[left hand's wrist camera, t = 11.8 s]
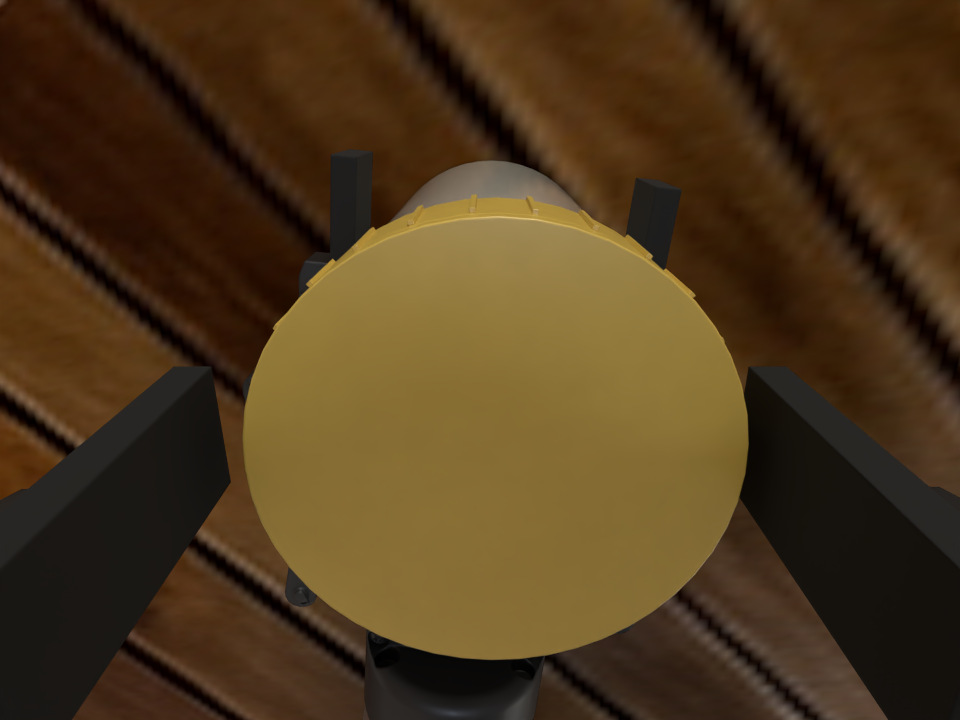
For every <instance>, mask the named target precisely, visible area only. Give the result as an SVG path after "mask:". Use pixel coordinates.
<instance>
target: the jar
mask: <svg viewBox="0 0 960 720" xmlns="http://www.w3.org/2000/svg"><path fill="white" fill-rule="evenodd" d="M471 195H477V199H478V198H495V197H499V198H511V199H524V200H526V198H527V196H531V197H533V199H534V201H536V202H541V203H546V204H550V205H555V206H559V207H562V208H565V209H568V210H570V211H573V212H576V213H579V211H580V210H582V209H581V208H580V207H579V206H578V205H577V204H576V202H575V201H574V200H573V199H572V198H571V197H570V196H569V195H568V194H567V193H566V192H565V191H564V190H563V189H561V188H560V187H559V186H558V185H557V184H556V183H554V182H553V181H552V180H550V179H549V178H548V177H546V176H544V175H542V174H541V173H539V172H537V171H535V170H533V169H530V168H527V167H525V166H522V165H519V164H514V163H509V162H502V161H479V162H473V163H468V164H463V165H460V166H457V167H455V168H452V169H449V170H447V171H445V172H443V173H441V174H439V175H437V176H436V177H435V178H433V179H432V180H430V181H429V182H427V183H426V184H425V185H424V186H423V187H422V188H420V189H419V190H418V191H417V192H416V193H415V194H414V195H413V196H412V198H411V199H410V200H409V201H408V202H407V203H406V204H405V205H404V207H403V208H402V209H401V210H400V211H399V212H398V213H397V214H396V215H395V217H394V218H393V219H392V220H391V221H390V222H389V223H391V222H393V221H395V220H397V219H399V218H401V217H403V216H405V215H407V214H410V213H413V212H414V211H415V210H416V208H417V207H418V206H421V205H423V207H424V209H425V208H428V207H431V206H434V205H438V204H443V203H448V202H454V201H459V200H464V199H471ZM389 223H388V224H389Z"/></svg>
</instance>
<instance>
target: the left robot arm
mask: <svg viewBox="0 0 960 720" xmlns="http://www.w3.org/2000/svg"><path fill="white" fill-rule="evenodd" d="M744 399H745V405H746V410H747V416H748V441H749V445H748V454H747V463H746V472H745V477H744V481H743V484H742V488H741V492H740V496H739V497H740V499H741V500H742V502H743V503H744V505H745V506H746V508H747V509H748V511H749V512H750V514H751V515H752V517H753V518H754V520H755V521H756V523H757V524H758V526H759V527H760V529H761V530H762V532H763V533H764V535H765V536H766V538H767V539H768V541H769V542H770V544H771V545H772V547H773V548H774V550H775V551H776V553H777V554H778V556H779V557H780V559H781V560H782V562H783V563H784V565H785V566H786V568H787V569H788V571H789V572H790V574H791V575H792V577H793V578H794V580H795V581H796V583H797V584H798V586H799V587H800V589H801V590H802V591H803V593H804V594H805V596H806V597H807V599H808V600H809V602H810V603H811V605H812V606H813V608H814V609H815V611H816V612H817V614H818V615H819V617H820V618H821V620H822V621H823V623H824V624H825V626H826V627H827V629H828V630H829V632H830V633H831V635H832V636H833V638H834V639H835V641H836V642H837V644H838V645H839V647H840V648H841V650H842V651H843V653H844V654H845V656H846V657H847V659H848V660H849V662H850V663H851V665H852V666H853V668H854V669H855V671H856V672H857V674H858V675H859V677H860V678H861V680H862V681H863V683H864V684H865V686H866V687H867V689H868V690H869V692H870V693H871V695H872V696H873V698H874V699H875V701H876V702H877V704H878V705H879V707H880V708H881V710H882V711H883V713H884V714H885V716H886V717H887V719H888V720H960V497H958V496H956V495H954V494H952V493H950V492H948V491H946V490H944V489H942V488H940V487H929V486H928V485H927V484H925V483H924V482H923V481H922V480H921V479H919V478H918V477H917V476H916V475H915V474H913V473H912V472H911V471H910V470H909V469H907V468H906V467H905V466H904V465H903V464H901V463H900V462H899V461H898V460H897V459H896V458H894V457H893V456H892V455H891V454H890V453H888V452H887V451H886V450H885V449H884V448H882V447H881V446H880V445H879V444H878V443H876V442H875V441H874V440H873V439H872V438H871V437H869V436H868V435H867V434H866V433H865V432H863V431H862V430H861V429H860V428H859V427H857V426H856V425H855V424H854V423H853V422H851V421H850V420H849V419H848V418H847V417H846V416H844V415H843V414H842V413H841V412H840V411H838V410H837V409H836V408H835V407H834V406H832V405H831V404H830V403H829V402H828V401H826V400H825V399H824V398H823V397H822V396H821V395H819V394H818V393H817V392H816V391H815V390H813V389H812V388H811V387H810V386H809V385H807V384H806V383H805V382H804V381H803V380H801V379H800V378H799V377H798V376H797V375H796V374H794V373H793V372H792V371H791V370H790V369H788V368H787V367H749V369H748V375H747V381H746V386H745V392H744ZM230 482H231V481H230V475H229V469H228V463H227V457H226V451H225V445H224V439H223V433H222V428H221V422H220V416H219V410H218V404H217V398H216V392H215V386H214V381H213V375H212V369H211V367H173V368H172V369H170V370H169V371H168V372H167V373H166V374H164V375H163V376H162V377H161V378H160V379H159V380H157V381H156V382H155V383H154V384H153V385H151V386H150V387H149V388H148V389H147V390H145V391H144V392H143V393H142V394H141V395H139V396H138V397H137V398H136V399H135V400H134V401H132V402H131V403H130V404H129V405H128V406H126V407H125V408H124V409H123V410H122V411H120V412H119V413H118V414H117V415H116V416H114V417H113V418H112V419H111V420H110V421H109V422H107V423H106V424H105V425H104V426H103V427H101V428H100V429H99V430H98V431H97V432H95V433H94V434H93V435H92V436H91V437H89V438H88V439H87V440H86V441H85V442H84V443H82V444H81V445H80V446H79V447H78V448H76V449H75V450H74V451H73V452H72V453H70V454H69V455H68V456H67V457H66V458H64V459H63V460H62V461H61V462H60V463H59V464H57V465H56V466H55V467H54V468H53V469H51V470H50V471H49V472H48V473H47V474H45V475H44V476H43V477H42V478H41V479H39V480H38V481H37V482H36V483H35V484H33V485H32V486H31V487H30V488H29V489H21V490H19V491H17V492H15V493H13V494H11V495H9V496H7V497H6V498H4V499H2V500H0V720H72V719H73V717H74V716H75V714H76V713H77V711H78V710H79V708H80V707H81V705H82V704H83V702H84V701H85V699H86V698H87V696H88V695H89V693H90V692H91V690H92V689H93V687H94V686H95V684H96V683H97V681H98V680H99V678H100V677H101V675H102V674H103V672H104V671H105V669H106V668H107V666H108V665H109V663H110V662H111V660H112V659H113V657H114V656H115V654H116V653H117V651H118V650H119V648H120V647H121V645H122V644H123V642H124V641H125V639H126V638H127V636H128V635H129V633H130V632H131V630H132V629H133V627H134V626H135V624H136V623H137V621H138V620H139V618H140V617H141V615H142V614H143V612H144V611H145V609H146V608H147V606H148V605H149V603H150V602H151V600H152V599H153V597H154V596H155V594H156V593H157V591H158V590H159V589H160V587H161V586H162V584H163V583H164V581H165V580H166V578H167V577H168V575H169V574H170V572H171V571H172V569H173V568H174V566H175V565H176V563H177V562H178V560H179V559H180V557H181V556H182V554H183V553H184V551H185V550H186V548H187V547H188V545H189V544H190V542H191V541H192V539H193V538H194V536H195V535H196V533H197V532H198V530H199V529H200V527H201V526H202V524H203V523H204V521H205V520H206V518H207V517H208V515H209V514H210V512H211V511H212V509H213V508H214V506H215V505H216V503H217V502H218V500H219V499H220V497H221V496H222V494H223V493H224V491H225V490H226V488H227V487H228V485H229V484H230Z"/></svg>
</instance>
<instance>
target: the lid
mask: <svg viewBox="0 0 960 720" xmlns="http://www.w3.org/2000/svg"><path fill="white" fill-rule="evenodd" d="M652 257H653V256H652V255H651V254H650V253H649V252H648V251H647V250H646V249H644V248H643V247H642V246H641V245H640V244H639V243H637V242H636V241H635V240H634V239H633V238H632V237H630V236H629V235H627V236H626V237H625V238H624V237H623V236H621V235H620V234H618V233H617V232H616V231H614V230H612V229H610V228H608V227H606V226H604V225H603V224H601V223H599V222H597V221H595V220H593V219H592V218H591V217H590V216H589V215H588V214H587V213H586V212H585V211H583V210H580V211H579V213H576V212H573V211H570V210H568V209H565V208H562V207H559V206H555V205H550V204H546V203H541V202H536V201H534V199H533V197H531V196H527V198H526V200H524V199H511V198H499V197H495V198H478V199H477V195H471V199H464V200H459V201H454V202H448V203H443V204H438V205H434V206H431V207H428V208H425V209H424V207H423V205H421V206H418V207H417V208H416V210H415V211H414V212H413V213H410V214H407V215H405V216H403V217H401V218H399V219H397V220H395V221H393V222H391V223H389V224H387V225H385V226H383V227H381V228H379V229H377V230H375V228H374V227H373V228H371V229H369V230H368V231H367V232H366V233H365V234H364V235H363V236H362V237H361V238H360V239H359V240H358V241H357V242H356V243H355V244H354V245H353V246H352V247H351V248H350V249H349V250H348V251H347V252H346V253H345V254H344V255H343V256H342V257H341V258H339V259H338V260H337V261H334V260H333V259H332V260H331V261H330V262H329V263H328V264H327V265H325V266H324V267H323V268H322V269H321V270H320V271H319V272H318V273H317V274H316V275H315V276H314V277H313V278H312V279H311V280H310V281H309V282H308V283H307V284H306V285H307V286H308V287H309V288H308V289H307V290H306V291H305V292H304V293H303V294H302V295H301V296H300V298H299V299H298V300H297V301H296V303H295V304H294V305H293V306H292V307H291V309H290V310H289V311H288V312H287V313H286V314H285V315H284V316H283V317H282V318H281V319H280V320H279V321H278V322H277V323H276V324H275V326H274V328H273V329H274V330H275V331H274V332H273V334H272V336H271V337H270V339H269V341H268V343H267V344H266V346H265V348H264V349H263V352H262V354H261V357H260V359H259V361H258V364H257V366H256V369H255V371H254V374H253V376H252V379H251V383H250V388H249V392H248V396H247V400H246V405H245V411H244V423H243V436H242V439H243V453H244V466H245V471H246V476H247V480H248V485H249V489H250V494H251V497H252V500H253V502H254V505H255V508H256V510H257V513H258V515H259V518H260V521H261V523H262V525H263V526H264V528H265V530H266V532H267V534H268V536H269V538H270V539H271V541H272V543H273V545H274V547H275V548H276V549H277V551H278V552H279V553H280V555H281V556H282V558H283V559H284V560H285V562H286V563H287V564H288V566H289V567H290V569H291V570H292V571H293V572H294V573H295V574H296V575H297V576H298V577H299V578H300V579H301V580H302V581H303V582H304V584H305V585H306V586H307V587H308V588H309V589H310V590H311V591H313V592H314V593H315V594H316V595H317V596H319V597H320V598H321V599H322V600H323V601H324V602H326V603H327V604H328V605H329V606H330V607H332V608H333V609H335V610H336V611H338V612H339V613H341V614H342V615H344V616H345V617H347V618H348V619H350V620H351V621H353V622H354V623H356V624H358V625H360V626H362V627H364V628H366V629H368V630H370V631H372V632H374V633H376V634H378V635H380V636H382V637H385V638H387V639H390V640H392V641H395V642H398V643H400V644H403V645H405V646H409V647H412V648H416V649H420V650H423V651H427V652H431V653H435V654H441V655H447V656H453V657H459V658H469V659H484V660H502V659H522V658H530V657H537V656H545V655H550V654H554V653H559V652H563V651H567V650H571V649H575V648H578V647H581V646H584V645H587V644H590V643H592V642H595V641H598V640H601V639H603V638H606V637H608V636H610V635H612V634H614V633H616V632H618V631H620V630H623V629H625V628H627V627H629V626H630V625H632V624H634V623H635V622H637V621H638V620H640V619H642V618H643V617H645V616H647V615H648V614H650V613H652V612H653V611H654V610H656V609H657V608H658V607H659V606H661V605H662V604H663V603H665V602H666V601H667V600H668V599H670V598H671V597H672V596H673V595H675V594H676V593H677V592H678V591H679V590H680V589H681V588H682V587H683V586H684V585H685V584H686V583H687V582H688V581H689V580H690V579H691V578H692V577H693V576H694V575H695V574H696V572H697V571H698V570H699V569H700V567H701V566H702V565H703V564H704V562H705V561H706V560H707V558H708V557H709V556H710V555H711V553H712V552H713V550H714V549H715V547H716V545H717V544H718V542H719V540H720V539H721V537H722V535H723V534H724V532H725V530H726V528H727V526H728V524H729V522H730V519H731V517H732V515H733V512H734V510H735V507H736V505H737V503H738V500H739V496H740V492H741V488H742V484H743V481H744V477H745V472H746V463H747V454H748V445H749V441H748V416H747V410H746V405H745V399H744V394H743V389H742V384H741V382H740V379H739V376H738V373H737V371H736V368H735V365H734V362H733V360H732V357H731V354H730V353H729V351H728V349H727V347H726V345H725V344H724V343H725V341H724V339H723V338H722V337H721V336H720V334H719V333H718V331H717V329H716V327H715V326H714V325H713V323H712V322H711V321H710V319H709V318H708V317H707V315H706V314H705V313H704V311H703V310H702V309H701V307H700V306H699V305H698V304H697V302H696V301H695V300H694V299H693V298H694V297H695V295H694V293H693V292H692V291H691V290H690V289H688V288H687V287H686V286H685V285H684V284H683V283H682V282H680V281H679V280H678V279H677V278H676V277H675V276H674V275H672V274H671V273H670V272H669V271H668V270H667V269H665V270H662V269H661V268H660V267H659V266H658V265H657V264H656V263H655V262H654V261H652V260H651V259H652Z"/></svg>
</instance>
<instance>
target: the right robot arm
mask: <svg viewBox="0 0 960 720" xmlns="http://www.w3.org/2000/svg"><path fill="white" fill-rule="evenodd" d="M372 158H373V152H371V151H361V150H346V151H342V152H339V153H335V154H331V215H330V253H322V252H315V253H314V254H313V255H312V256H310V257H309V258H308V259H307V260H306V261H305V262H304V264H303V267H302V269H301V272H300V274H299V298H300V296H301V295H302V294H303V293H304V292H305V291H306V290H307V289H308V288H309V287H308V286H307V285H306V284H307V283H308V282H309V281H310V280H311V279H312V278H313V277H314V276H315V275H316V274H317V273H318V272H319V271H320V270H321V269H322V268H323V267H324V266H325V265H327V264H328V263H329V262H330V261H331V260H332V259H333V260H334V261H337V260H338V259H339V258H341V257H342V256H343V255H344V254H345V253H346V252H347V251H348V250H349V249H350V248H351V247H352V246H353V245H354V244H355V243H356V242H357V241H358V240H359V239H360V238H361V237H362V236H363V235H364V234H365V233H366V232H367V231H368V230H369V229H370V223H371V190H372ZM680 195H681V189H679V188H676V187H674V186H671V185H669V184H666V183H664V182H661V181H659V180H651V179H641V178H636V181H635V187H634V192H633V198H632V203H631V209H630V214H629V220H628V226H627V231H626V236H627V235H629V236H630V237H632V238H633V239H634V240H635V241H636V242H637V243H639V244H640V245H641V246H642V247H643V248H644V249H646V250H647V251H648V252H649V253H650V254H651V255H652V256H653V257H652V259H651V260H652V261H654V262H655V263H656V264H657V265H658V266H659V267H660V268H661V269H662V270H665V267H666V262H667V257H668V253H669V248H670V243H671V238H672V233H673V228H674V224H675V219H676V214H677V209H678V204H679V199H680ZM254 371H255V370H254ZM254 371H253V372H252V373H251V374H250V375H249V376H248V378H247V379H246V380H245V381H244V384H243V394H244V397H245V401H246V400H247V396H248V392H249V388H250V383H251V379H252V376H253V374H254ZM285 595H286V598H287V600H288V601H289V602H290V603H292V604H293V605H296V606H299V607H306V606H309V605H311V604H312V603H313V602H314V601H315V599H316V596H317V595H316V594H315V593H314V592H313V591H311V590H310V589H309V588H308V587H307V586H306V585H305V584H304V582H303V581H302V580H301V579H300V578H299V577H298V576H297V575H296V574H295V573H294V572H293V571H292V570H291V569H290V567H289V569H288V576H287V583H286V590H285ZM633 625H634V624H632V625H630V626H629V627H627V628H625V629H623V630H620V631H618V632H616V633H617V634H619V633H625V632H626V631H628V630H630V629H631V628H632V627H633ZM544 659H545V656H537V657H530V658H522V659H502V660H484V659H469V658H459V657H453V656H447V655H441V654H435V653H431V652H427V651H423V650H420V649H416V648H412V647H409V646H405V645H403V644H400V643H398V642H395V641H392V640H390V639H387V638H385V637H382V636H380V635H378V634H376V633H374V632H372V631H370V630H368V629H367V636H366V662H365V689H364V699H365V706H364V710H363V720H533V719H534V715H535V711H536V705H537V699H538V693H539V688H540V682H541V676H542V671H543V665H544Z"/></svg>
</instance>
